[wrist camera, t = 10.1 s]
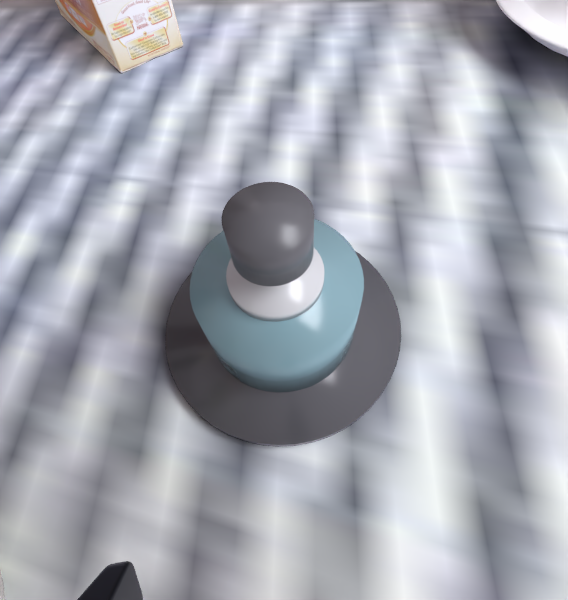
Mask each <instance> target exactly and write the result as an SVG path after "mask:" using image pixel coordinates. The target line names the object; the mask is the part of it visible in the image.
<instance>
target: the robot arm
mask: <svg viewBox="0 0 568 600" xmlns="http://www.w3.org/2000/svg"><path fill="white" fill-rule="evenodd" d="M77 600H143V596H142V592H141V588H140V585H139V582H138V579H137V575H136V572H135V569H134V566H133V564H132V563H131V562H128V561H126V562H120V563H115V564H111V565H108V566H107V567H106V568H105V569H104V570H103V571H102V572H101V573H100V574H99V576H98V577H97V578H96V579H95V580H94V581H93V582H92V584H91V585H90V586H89V587H88V588H87V589H86V590H85V591H84V593H83V594H82V595H81V596H80V597H79V598H78V599H77Z"/></svg>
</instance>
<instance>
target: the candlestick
mask: <svg viewBox="0 0 568 600" xmlns="http://www.w3.org/2000/svg"><path fill="white" fill-rule="evenodd" d="M496 2H497V4H498V5H499V7H500V8H501V10H502V11H503V12H504V13H505V14H506V16H507V17H508V18H510V19H511V20H512V21H513V22H514V23H515V24H517V25H518V26H519V27H521V28H522V29H524V30H525V31H526V32H527V33H528V34H529V35H530V36H531V37H532V38H533V39H535V40H536V41H538V42H539V43H541V44H543V45H544V46H546V47H548V48H549V49H551V50H553V51H554V52H557V53H560V54H563V55H565V56H567V57H568V0H496Z"/></svg>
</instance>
